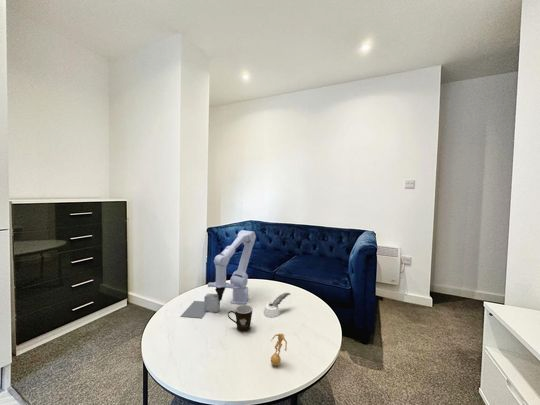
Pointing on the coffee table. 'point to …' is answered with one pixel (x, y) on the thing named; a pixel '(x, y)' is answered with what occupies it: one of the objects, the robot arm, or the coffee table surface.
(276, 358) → the figurine
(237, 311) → the coffee mug
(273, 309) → the inkwell
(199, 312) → the mat
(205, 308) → the medicine box
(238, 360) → the coffee table surface
